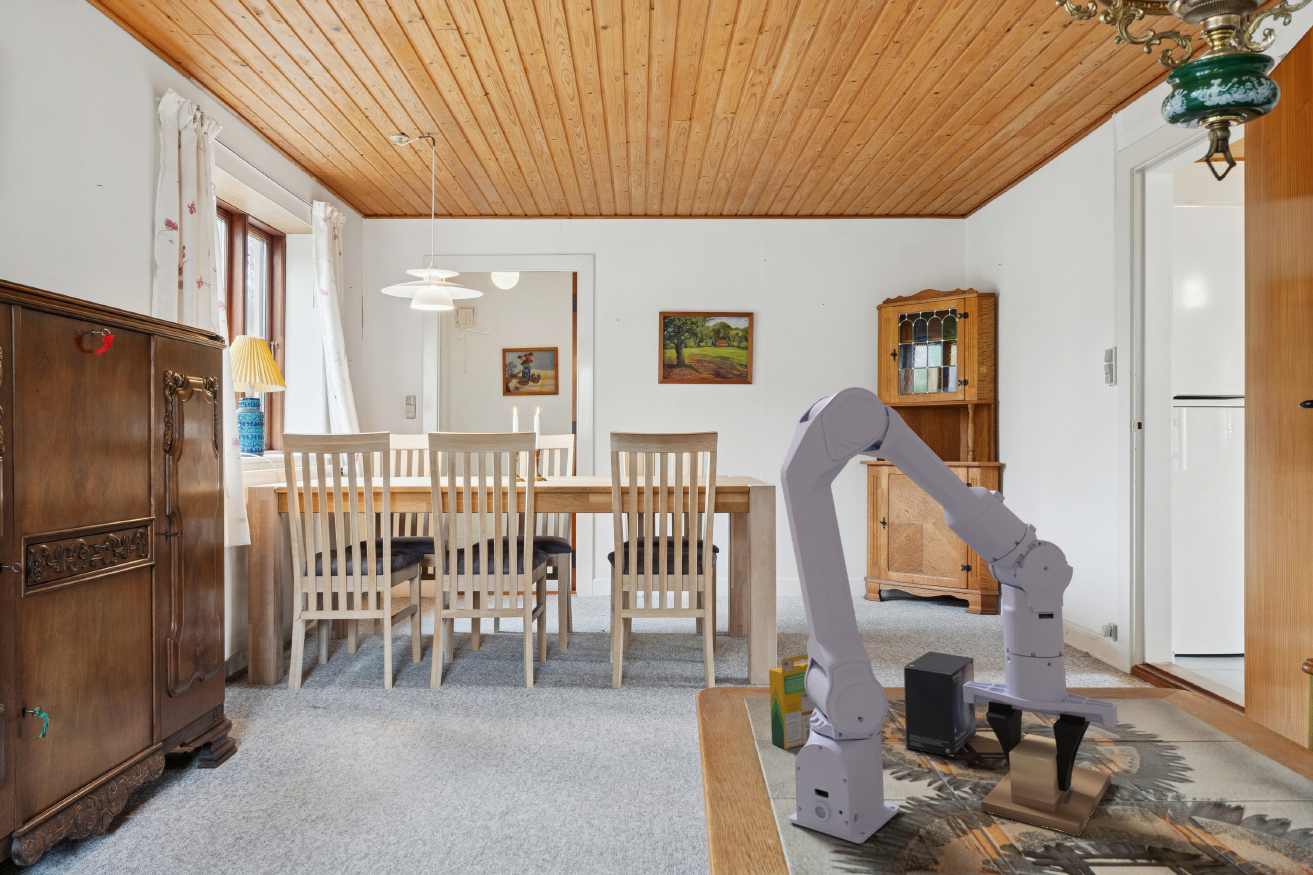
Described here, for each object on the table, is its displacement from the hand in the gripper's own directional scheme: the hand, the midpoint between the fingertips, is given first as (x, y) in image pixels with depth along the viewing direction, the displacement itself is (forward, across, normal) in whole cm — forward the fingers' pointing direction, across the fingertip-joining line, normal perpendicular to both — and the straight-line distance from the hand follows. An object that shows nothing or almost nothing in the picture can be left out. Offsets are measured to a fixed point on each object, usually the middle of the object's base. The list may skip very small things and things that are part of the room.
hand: (1040, 782), depth 79 cm
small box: (+3, +15, -13) cm, 20 cm away
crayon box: (+3, +30, -2) cm, 30 cm away
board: (+2, 0, -3) cm, 4 cm away
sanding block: (+1, 0, 0) cm, 1 cm away
